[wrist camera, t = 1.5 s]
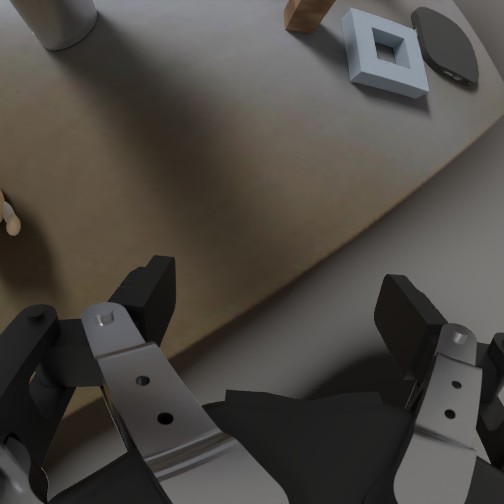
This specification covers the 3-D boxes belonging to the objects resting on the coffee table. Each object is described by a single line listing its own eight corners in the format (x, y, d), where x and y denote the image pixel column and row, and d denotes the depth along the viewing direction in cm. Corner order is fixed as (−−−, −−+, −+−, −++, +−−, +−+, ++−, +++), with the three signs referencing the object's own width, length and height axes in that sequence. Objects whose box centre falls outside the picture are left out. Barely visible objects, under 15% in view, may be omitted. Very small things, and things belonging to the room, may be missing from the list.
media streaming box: (459, 34, 43) (468, 28, 40) (474, 91, 44) (484, 87, 41) (406, 6, 40) (414, -1, 37) (419, 65, 41) (430, 58, 38)
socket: (349, 81, 38) (361, 71, 35) (341, 19, 38) (350, 7, 34) (415, 99, 40) (429, 91, 37) (404, 39, 40) (415, 30, 36)
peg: (285, 29, 36) (307, -13, 26) (284, 10, 36) (305, -32, 26) (312, 34, 37) (339, -5, 27) (310, 15, 37) (335, -24, 27)
